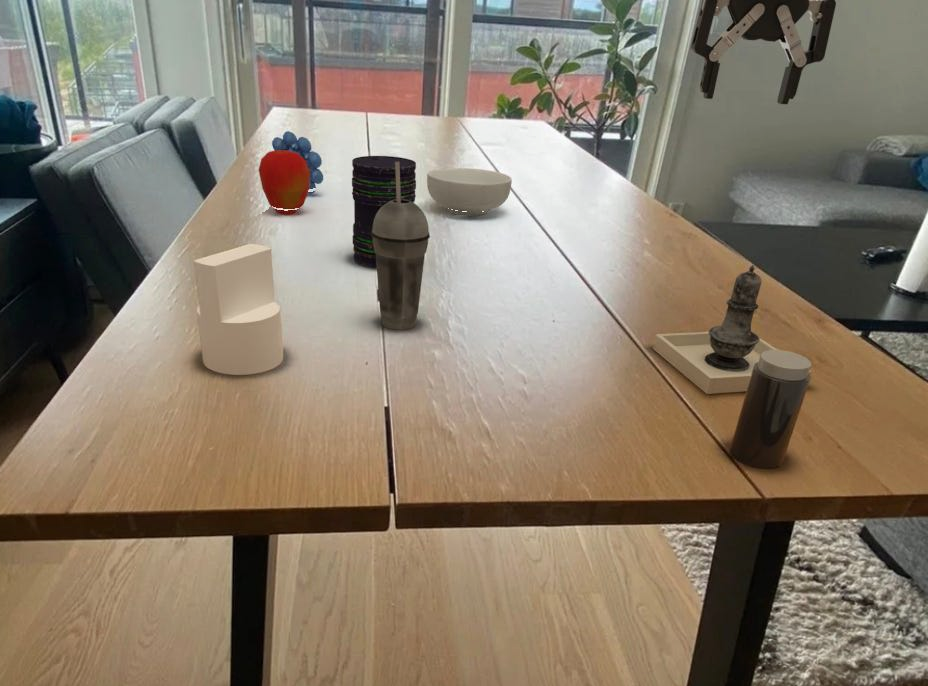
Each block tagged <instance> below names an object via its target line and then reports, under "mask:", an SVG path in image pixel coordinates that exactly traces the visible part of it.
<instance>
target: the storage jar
mask: <svg viewBox="0 0 928 686" xmlns="http://www.w3.org/2000/svg"><path fill="white" fill-rule="evenodd" d="M395 162H399V166H400V193H401V199H405V200H409V201H411V202H413V203H414V202H415V201H416V197H417V195H416V190H417V180H416V177H417V176H416V175H417V174H416V169H417V162H416V161H414V160H412V159H409V158H406V157H399V156H390V155H365V156H363V155H362V156H357V157H355V158H352V161H351V166H352V171H351V173H352V178H351V187H352V191H351V194H352V199H353V203H354V204H353V205H354V208H353V209H354V210H353V212H354V213H353V214H354V223H353V224H352V245H353V247H352V248H353V252H354V253H353V256H352V257H353V262H354V263H355V264H357V265H359V266H362V267H365V268H369V269H376V270H377V266H376V253H375V251H374V246H373V236H372V235H371V232H372V229H373V222H374V218H375V216H376V214H377V212H378V211H379V209H380V208H381V207H382V206H383V205H384V204H386V203H387V202H389V201H392V200H395V199H397V198H396V171H395Z"/></svg>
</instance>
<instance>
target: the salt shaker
mask: <svg viewBox="0 0 928 686" xmlns="http://www.w3.org/2000/svg"><path fill="white" fill-rule="evenodd" d="M748 269H749V270H747V271H745V272H741V273H739V274H738V275H737V276H736V278H735V280H734V285H733V289H732V292H731V296H730V299H727V300H726V301H725V302H726V305H727V309H726V313H725V317H724V319H723V321H722V323H721V324H720V325H717V326H716V325H715V326H712V327H711V328H710V329H708V332H709V334H710V344H711V347H712V349H713V350H714V352H713V353H711V354H708V355H706V356H705V362H706V363H708V364H709V365H711V366H712V367H715V368H718V369H721V370H726V371H745V370H747V369H748V368H749V363H748V362H747V361H746V360H745V359H744V358H743V357H745V356H746V355H748V354H750V353H751V351H752V350H753V349H754V347H755V344H757V343H758V342H759V339H760V338H761V337H759V335H758V334H756V333H755V332H753V331H752V321H753V318H754V315H755V314H754V313H755V311H756V310H757V309H759V304H757V301H758V296H759V293H760V289H761V286H762V277H760V276H759V275H758V274H757V273H756V272H755V271H754V270H756V268H755V266H754V264H752V265H750V266H749V267H748Z"/></svg>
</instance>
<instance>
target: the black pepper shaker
mask: <svg viewBox="0 0 928 686" xmlns="http://www.w3.org/2000/svg"><path fill="white" fill-rule="evenodd" d="M811 367H812V362H811V360H810V359H809V358H807V357H806V356H804V355H801V354H800V353H797V352H793V351H789V350H785V349H777V350H767V351H764V352H762V353H761V355H760V358H759V362H757V363H756V364H755V365H754V367H753V370H752V374H751V377H750V381H749V384H748V388H747V391H745V395H744V398H743V401H742V405H741V409H740V412H739V416H738V420H737V423H736V426H735V430H734V434H733V437H732V441H731V444H730V447H729V452H730V454H731V456H732V458H734V459H735V460H737V461H738V462H740V463H742V464H745V465H747V466H750V467H754V468H758V469H775V468H779V467H780V466H781V465H782V464H783V463H784V460H785V457H786V454H787V451H788V448H789V445H790V442H791V439H792V436H793V433H794V430H795V427H796V424H797V421H798V418H799V414H800V411H801V409H802V406H803V403H804V399H805V396H806V394H807V391H808V387H809V386H810V381H811V379H812V376H811V375H810V374H809V371H811Z"/></svg>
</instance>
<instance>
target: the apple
mask: <svg viewBox="0 0 928 686" xmlns="http://www.w3.org/2000/svg"><path fill="white" fill-rule="evenodd" d="M258 173H259V175H258V176H259V179H260V184H261V188H262V189H261V190H262V191H263V193H264V195H265V198H266V200H267V203H268V204H269V206H271V207H272V206H273V207H276V208H283V209H295V208H299V209H301V208H302V207H303V206H304V204H305V202H306V200H307V196H308V190H309V184H310V171H309V168H308V166H307V163H306V161H305V160H304V159H303V158H302V157H301V156H300V155H299V154H298V153H295V152H292V151H286V150H283V146H282V150H271V151H268V152H266V153H265V154H264V155H263V156H262V158H261V160H260V162H259V167H258ZM300 207H301V208H300ZM272 209H273V210H274V211H276V213H278V214H280V215H285V216H290V215H293V214H295V213H296V212H297V211H299V209H297V210H288V211H284V210H277V209H274V208H272Z"/></svg>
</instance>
